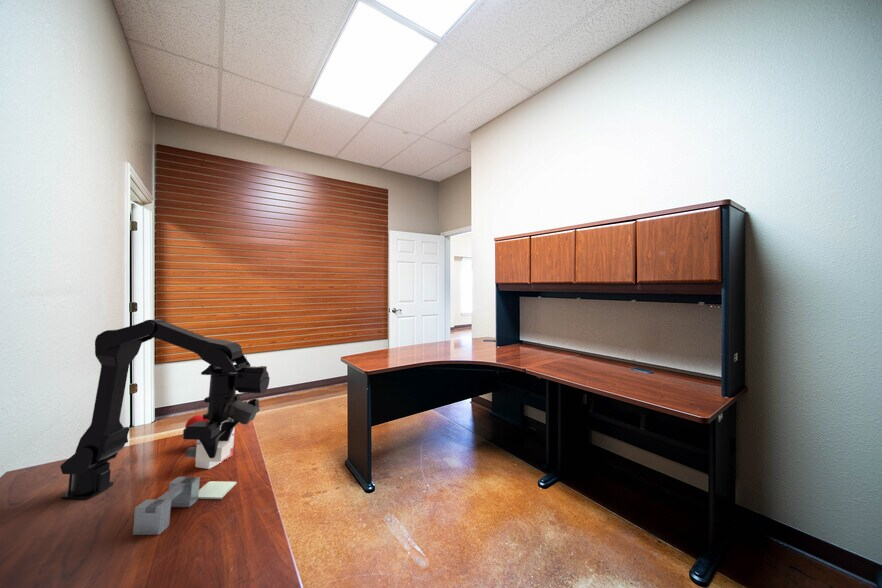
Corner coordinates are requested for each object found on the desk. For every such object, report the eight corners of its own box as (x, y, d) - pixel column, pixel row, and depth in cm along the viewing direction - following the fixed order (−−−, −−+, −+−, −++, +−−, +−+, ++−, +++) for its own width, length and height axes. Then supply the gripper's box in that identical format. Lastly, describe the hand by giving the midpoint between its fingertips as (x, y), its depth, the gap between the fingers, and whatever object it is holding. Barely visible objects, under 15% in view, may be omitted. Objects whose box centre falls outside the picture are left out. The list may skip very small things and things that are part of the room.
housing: (132, 534, 66) (135, 507, 66) (176, 499, 78) (178, 476, 78) (158, 534, 66) (161, 507, 67) (198, 499, 78) (199, 477, 79)
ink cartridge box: (219, 454, 101) (223, 406, 102) (233, 456, 100) (237, 408, 101) (193, 467, 93) (198, 415, 94) (208, 470, 92) (212, 417, 93)
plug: (182, 460, 80) (183, 446, 80) (193, 453, 84) (194, 440, 84) (220, 461, 81) (221, 447, 81) (229, 454, 85) (230, 441, 85)
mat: (190, 498, 79) (190, 496, 79) (209, 482, 86) (209, 481, 86) (220, 498, 79) (221, 497, 79) (236, 483, 86) (236, 481, 86)
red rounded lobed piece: (179, 452, 101) (182, 420, 101) (187, 443, 107) (189, 413, 108) (215, 449, 105) (218, 417, 105) (220, 440, 111) (222, 411, 111)
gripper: (235, 404, 75) (229, 473, 74) (271, 384, 93) (266, 439, 93) (184, 402, 74) (177, 472, 73) (230, 383, 93) (226, 438, 92)
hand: (217, 453), depth 83 cm, fingers closed on plug, 4 cm apart
